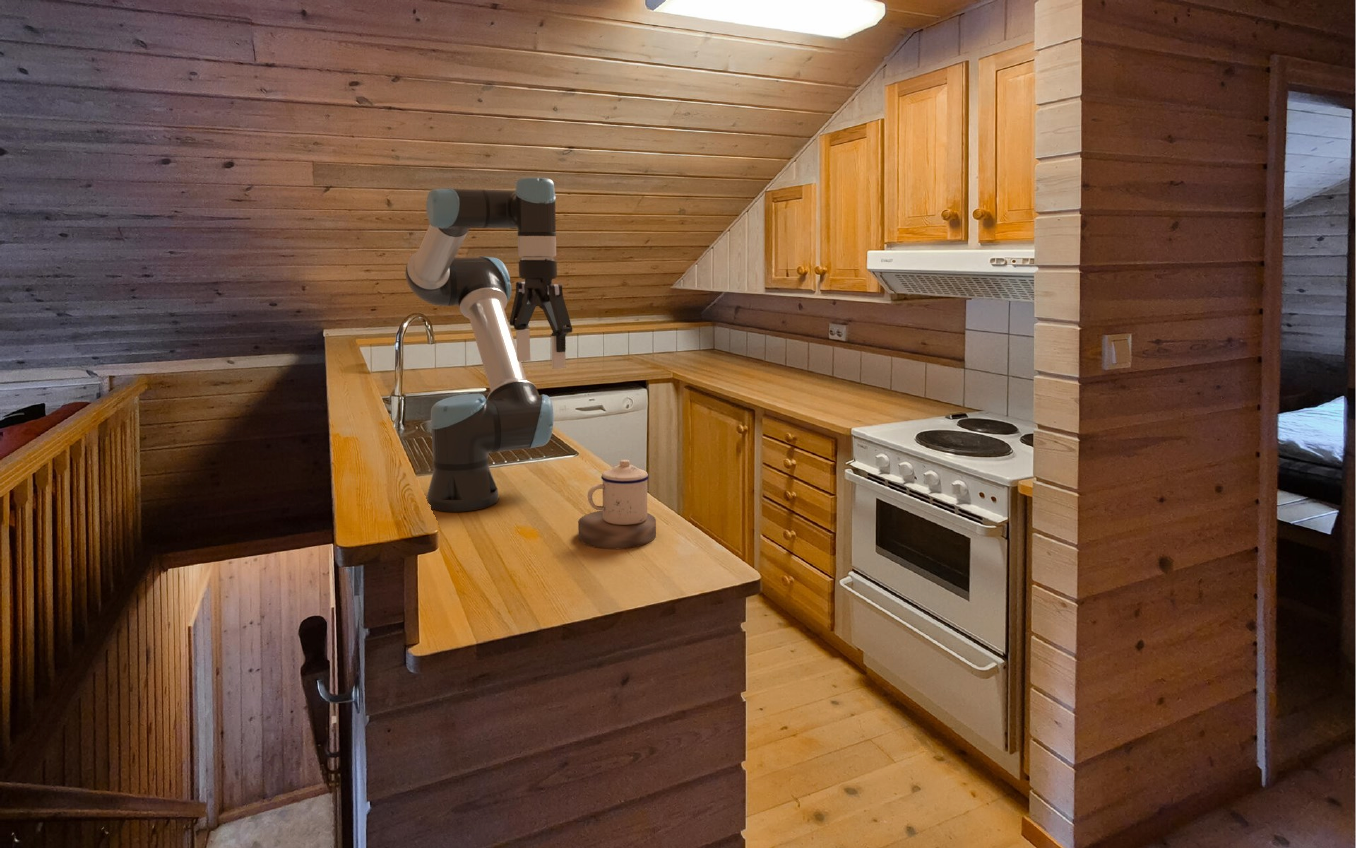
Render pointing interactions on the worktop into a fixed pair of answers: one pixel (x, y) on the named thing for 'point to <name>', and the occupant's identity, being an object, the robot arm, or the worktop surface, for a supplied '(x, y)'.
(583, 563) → the worktop surface
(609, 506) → the teacup with lid
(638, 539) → the walnut stand
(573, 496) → the worktop surface
